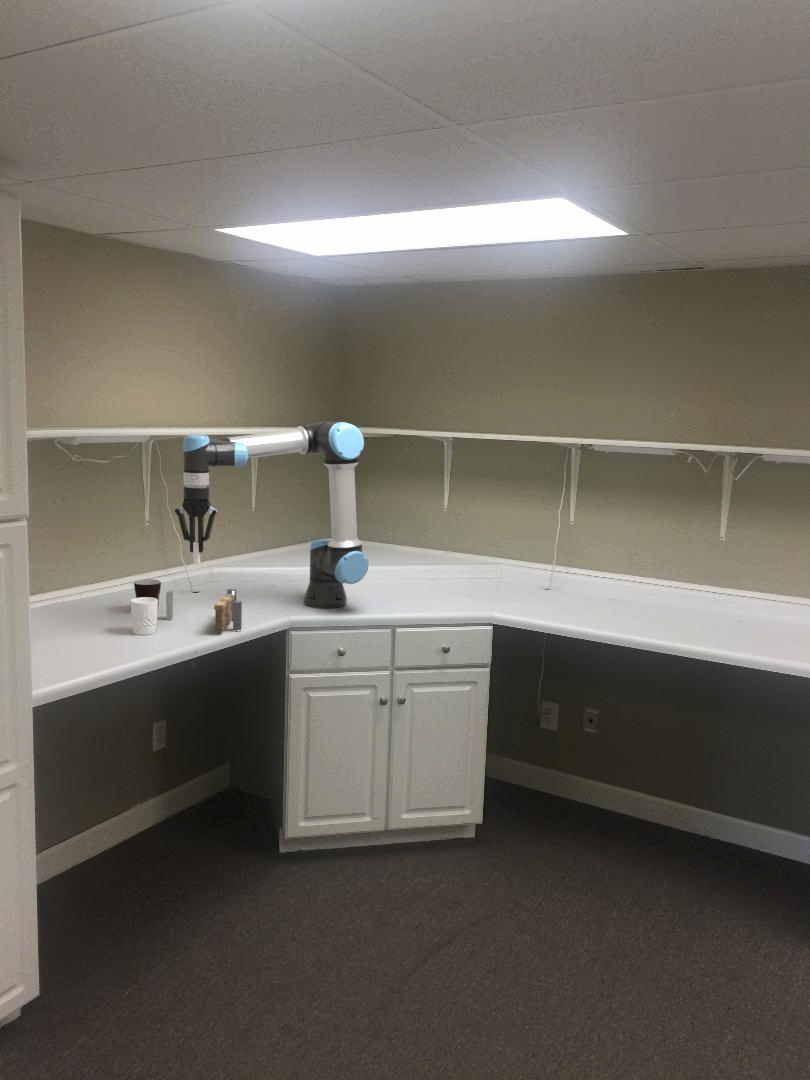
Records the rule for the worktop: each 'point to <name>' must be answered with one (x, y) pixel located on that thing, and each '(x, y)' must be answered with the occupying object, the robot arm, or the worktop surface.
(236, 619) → the gate frame
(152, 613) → the white cup
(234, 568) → the worktop surface
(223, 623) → the wooden flat block
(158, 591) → the coffee mug
